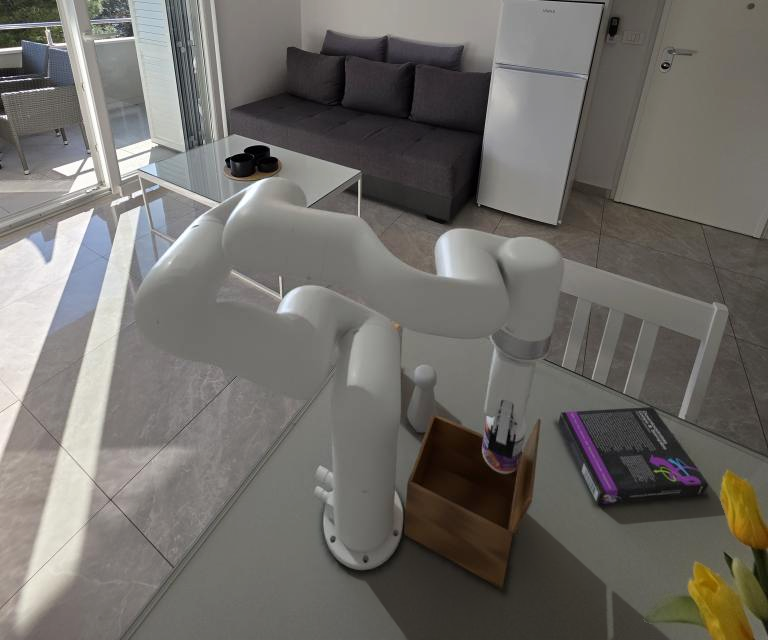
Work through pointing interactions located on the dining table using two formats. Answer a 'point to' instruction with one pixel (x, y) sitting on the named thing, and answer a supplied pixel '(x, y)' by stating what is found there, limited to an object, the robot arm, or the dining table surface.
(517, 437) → the pill bottle
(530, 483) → the flap
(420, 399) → the salt shaker
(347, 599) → the dining table surface
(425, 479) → the wooden storage box
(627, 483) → the box
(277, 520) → the dining table surface
